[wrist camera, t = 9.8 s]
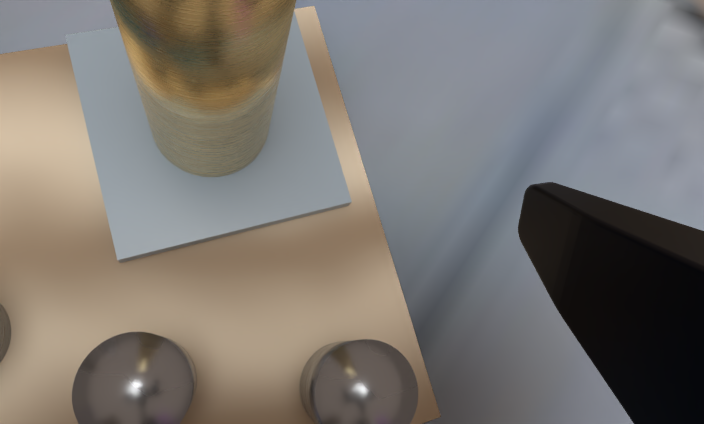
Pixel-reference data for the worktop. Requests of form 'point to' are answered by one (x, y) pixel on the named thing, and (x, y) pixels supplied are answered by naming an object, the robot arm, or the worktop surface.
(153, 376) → the short steel spacers
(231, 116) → the tall brass spacer
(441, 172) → the worktop surface
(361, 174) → the board
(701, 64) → the worktop surface
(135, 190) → the grey flat square plate
